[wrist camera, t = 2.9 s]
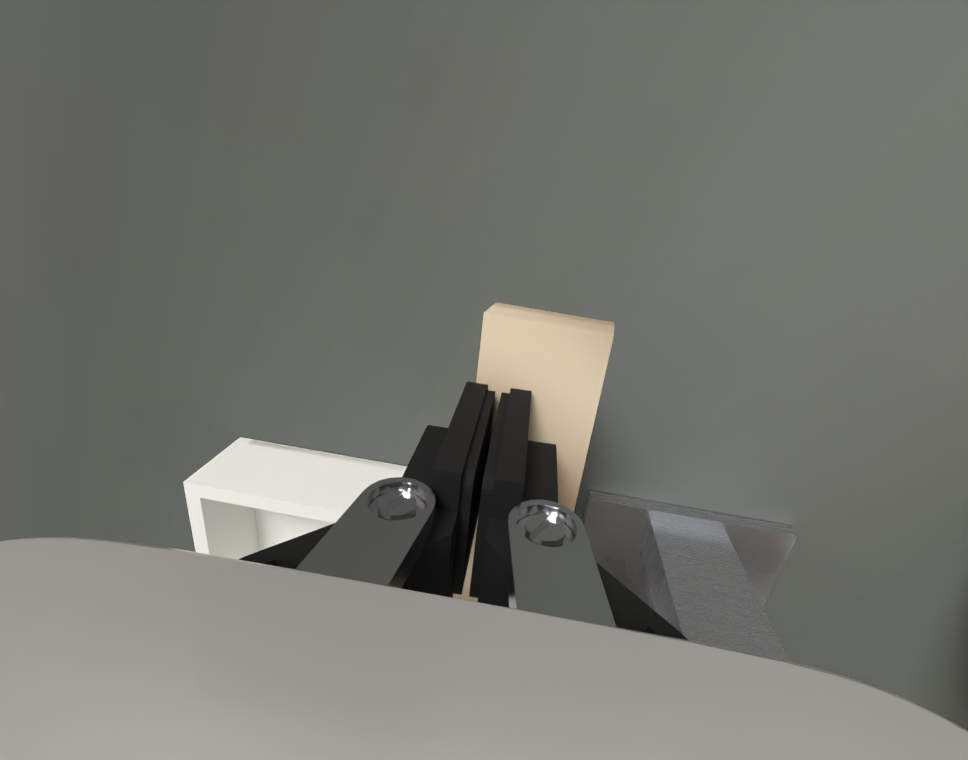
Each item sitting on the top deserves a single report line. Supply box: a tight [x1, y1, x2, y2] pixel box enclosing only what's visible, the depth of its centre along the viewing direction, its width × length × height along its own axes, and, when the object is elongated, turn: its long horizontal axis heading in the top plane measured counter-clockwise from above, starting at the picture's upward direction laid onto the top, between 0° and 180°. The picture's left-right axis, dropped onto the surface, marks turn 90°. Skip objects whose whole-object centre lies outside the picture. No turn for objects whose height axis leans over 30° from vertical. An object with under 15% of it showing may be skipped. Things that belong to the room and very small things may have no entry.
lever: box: [453, 302, 614, 602], centre depth 12 cm, size 17×18×3 cm
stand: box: [582, 491, 797, 661], centre depth 17 cm, size 11×8×8 cm
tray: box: [183, 437, 407, 559], centre depth 21 cm, size 10×10×4 cm
